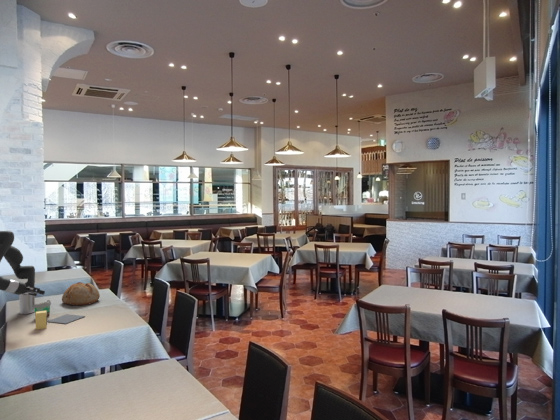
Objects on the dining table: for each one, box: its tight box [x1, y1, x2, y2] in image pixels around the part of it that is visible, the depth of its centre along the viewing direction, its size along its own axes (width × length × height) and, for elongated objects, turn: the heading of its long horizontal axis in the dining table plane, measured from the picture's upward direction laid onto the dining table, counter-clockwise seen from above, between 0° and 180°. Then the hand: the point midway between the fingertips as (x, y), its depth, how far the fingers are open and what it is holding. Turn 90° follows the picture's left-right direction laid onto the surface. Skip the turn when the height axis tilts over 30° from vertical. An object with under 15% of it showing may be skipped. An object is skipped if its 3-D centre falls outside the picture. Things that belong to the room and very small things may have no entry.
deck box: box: [34, 310, 48, 330], centre depth 240 cm, size 5×6×10 cm
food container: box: [34, 299, 52, 318], centre depth 262 cm, size 12×6×10 cm, turn 168°
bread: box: [61, 281, 101, 306], centre depth 300 cm, size 26×23×15 cm
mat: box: [47, 313, 86, 325], centre depth 256 cm, size 16×16×1 cm
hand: (40, 293), depth 243 cm, fingers open, 8 cm apart
